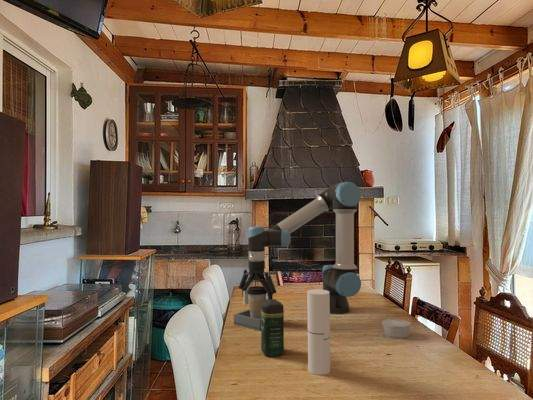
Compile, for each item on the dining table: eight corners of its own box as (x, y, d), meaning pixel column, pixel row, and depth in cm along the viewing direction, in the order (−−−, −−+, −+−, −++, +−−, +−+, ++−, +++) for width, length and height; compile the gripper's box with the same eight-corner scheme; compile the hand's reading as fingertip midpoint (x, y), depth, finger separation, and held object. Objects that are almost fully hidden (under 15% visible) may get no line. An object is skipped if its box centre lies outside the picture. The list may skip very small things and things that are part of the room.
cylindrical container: (306, 365, 121) (305, 289, 121) (327, 364, 121) (326, 289, 122) (310, 375, 114) (309, 294, 114) (333, 374, 114) (332, 294, 115)
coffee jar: (286, 356, 129) (286, 303, 129) (264, 358, 127) (264, 304, 128) (280, 346, 138) (279, 297, 139) (259, 348, 137) (259, 298, 137)
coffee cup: (265, 324, 161) (265, 290, 162) (244, 323, 163) (244, 289, 164) (269, 318, 170) (269, 286, 171) (249, 317, 172) (249, 285, 173)
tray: (280, 322, 168) (280, 312, 168) (259, 330, 156) (259, 320, 156) (254, 316, 177) (254, 307, 177) (233, 324, 165) (233, 314, 166)
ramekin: (410, 332, 153) (410, 319, 154) (412, 341, 143) (411, 327, 143) (382, 329, 157) (382, 317, 157) (382, 338, 146) (381, 324, 147)
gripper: (231, 259, 172) (231, 304, 172) (273, 263, 157) (274, 313, 156) (241, 257, 178) (242, 301, 178) (283, 261, 163) (284, 309, 162)
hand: (257, 306), depth 167 cm, fingers open, 13 cm apart
